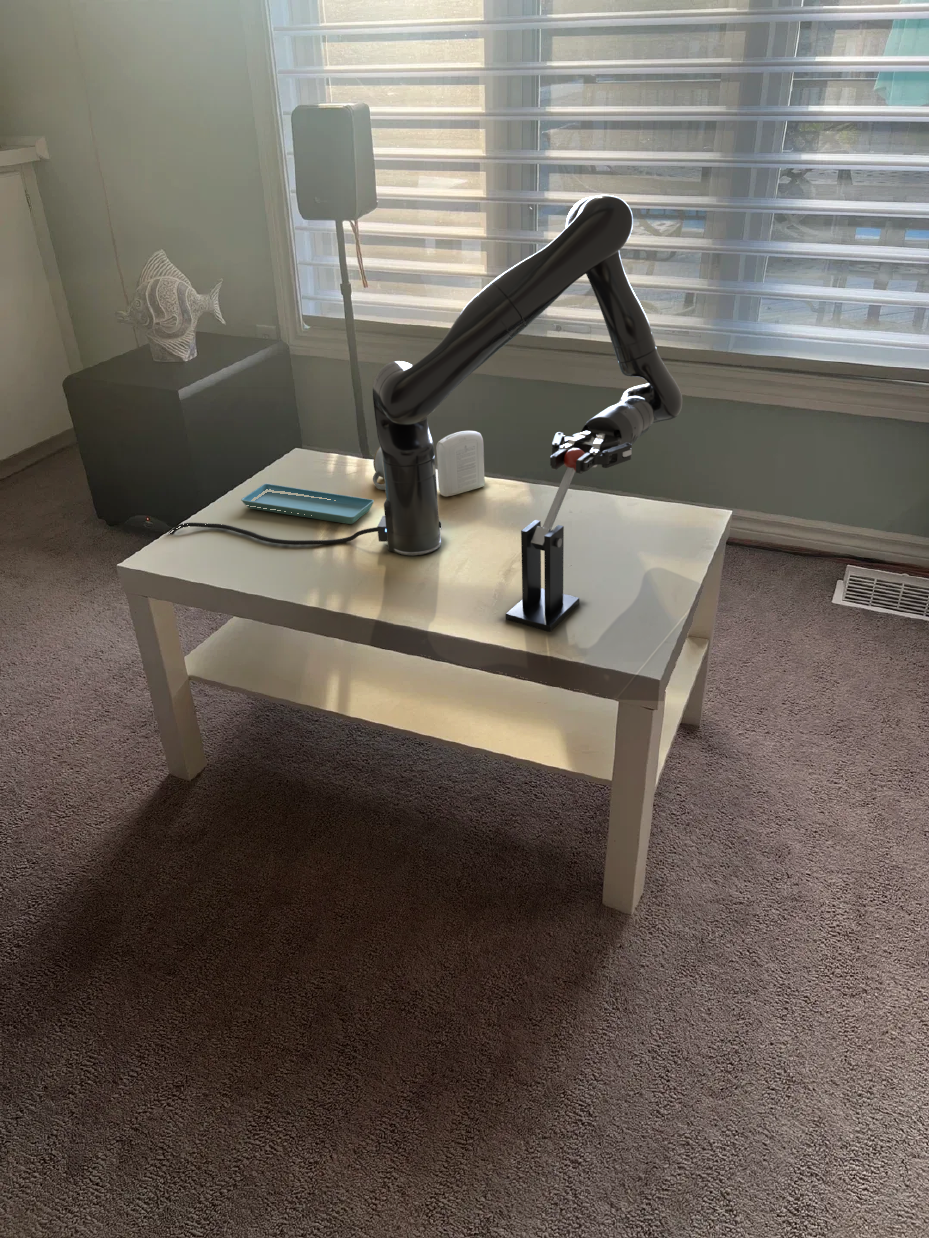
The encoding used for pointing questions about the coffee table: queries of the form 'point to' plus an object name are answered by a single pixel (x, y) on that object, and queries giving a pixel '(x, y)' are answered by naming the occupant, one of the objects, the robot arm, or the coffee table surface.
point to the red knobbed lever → (557, 497)
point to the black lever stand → (536, 602)
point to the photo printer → (460, 462)
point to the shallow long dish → (309, 504)
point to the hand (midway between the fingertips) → (566, 465)
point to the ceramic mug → (378, 469)
